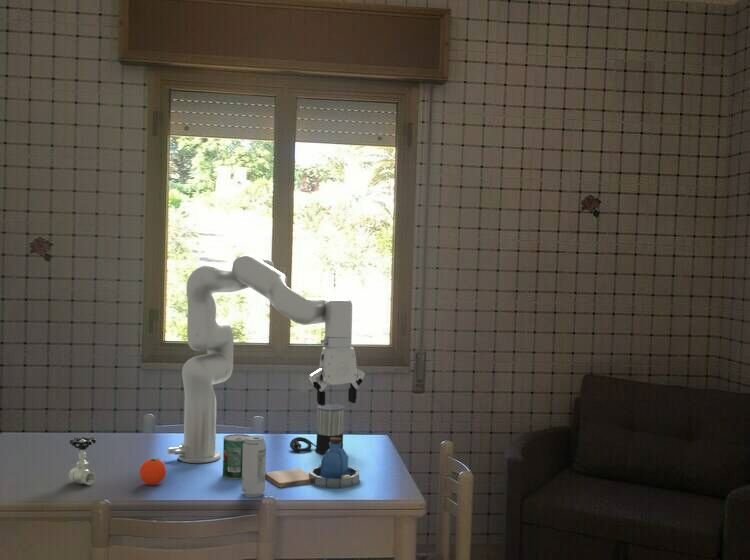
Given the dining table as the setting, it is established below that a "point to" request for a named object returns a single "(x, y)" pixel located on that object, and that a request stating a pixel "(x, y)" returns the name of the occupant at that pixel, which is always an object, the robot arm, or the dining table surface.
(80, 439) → the valve
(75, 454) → the dining table surface
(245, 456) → the energy drink can
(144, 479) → the clementine
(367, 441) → the dining table surface
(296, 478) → the pad
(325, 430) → the milk frother
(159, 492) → the dining table surface
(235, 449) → the canned tomato
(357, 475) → the collar
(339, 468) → the perfume bottle
